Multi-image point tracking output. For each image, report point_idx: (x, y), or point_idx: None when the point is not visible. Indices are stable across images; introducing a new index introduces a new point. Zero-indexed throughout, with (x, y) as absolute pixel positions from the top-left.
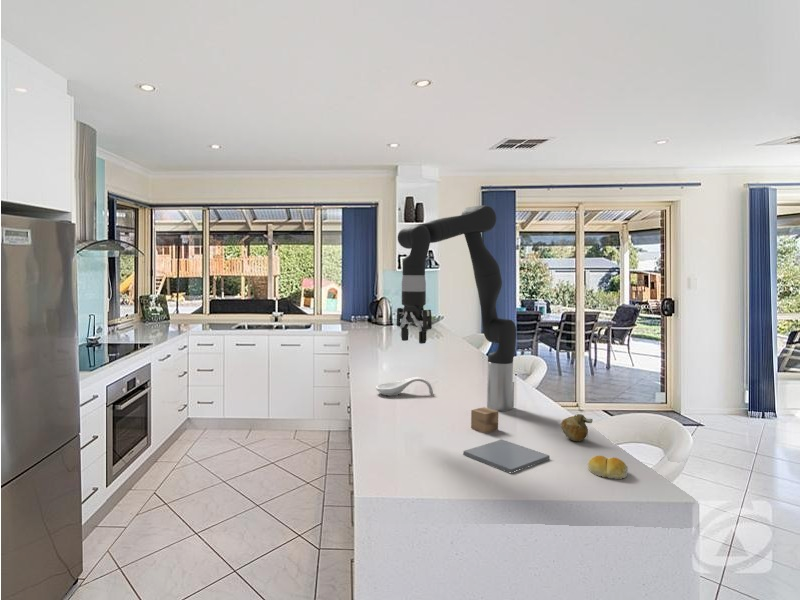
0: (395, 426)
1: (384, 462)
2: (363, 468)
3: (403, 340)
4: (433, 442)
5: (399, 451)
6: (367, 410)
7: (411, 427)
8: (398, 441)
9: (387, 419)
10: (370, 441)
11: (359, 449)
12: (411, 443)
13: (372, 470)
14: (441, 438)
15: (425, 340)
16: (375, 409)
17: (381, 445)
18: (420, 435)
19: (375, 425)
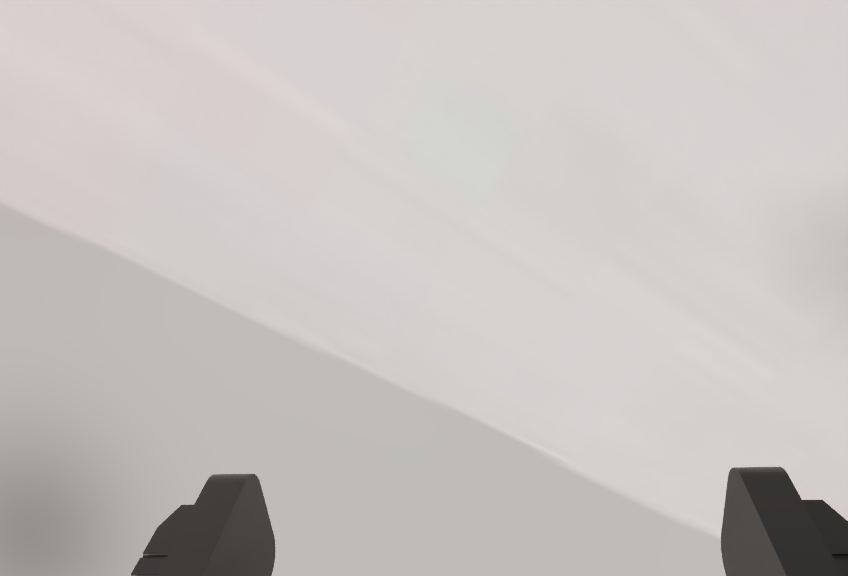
0: (386, 176)
1: None
2: None
3: (273, 550)
4: (740, 160)
5: (720, 364)
6: (14, 142)
7: (450, 106)
8: (607, 297)
9: (241, 140)
10: (527, 394)
11: (587, 470)
12: (672, 263)
13: None
14: (722, 76)
15: (839, 534)
16: (3, 85)
17: (603, 384)
18: (602, 149)
19: (318, 257)
